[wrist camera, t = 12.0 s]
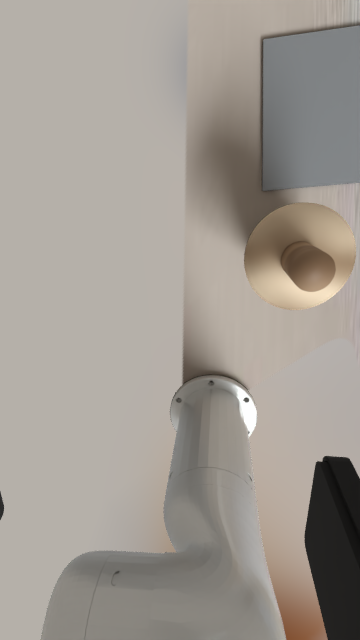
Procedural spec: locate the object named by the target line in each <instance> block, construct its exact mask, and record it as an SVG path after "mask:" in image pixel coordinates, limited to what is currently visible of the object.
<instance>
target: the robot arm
mask: <svg viewBox="0 0 360 640" xmlns="http://www.w3.org/2000/svg"><path fill="white" fill-rule="evenodd" d="M245 397H246V398H245ZM170 417H171V422H172V425H173V427H174V428H175V430H176V432H177V434H176V439H175V445H174V451H173V456H172V461H171V467H170V473H169V478H168V483H167V489H166V495H165V501H164V522H165V526H166V530H167V533H168V536H169V538H170V541H171V543H172V545H173V547H174V549H175V550H176V552H177V553H167V552H165V553H144V552H126V551H93V552H88V553H85V554H82V555H80V556H78V557H76V558H75V559H74V560H72V561H71V562H70V563H69V564H68V565H67V567H66V568H65V569H64V570H63V572H62V574H61V575H60V577H59V579H58V581H57V583H56V585H55V587H54V590H53V593H52V595H51V598H50V601H49V605H48V608H47V613H46V617H45V621H44V626H43V631H42V636H41V640H286V637H285V632H284V627H283V623H282V619H281V615H280V611H279V608H278V604H277V601H276V597H275V594H274V590H273V586H272V583H271V579H270V575H269V571H268V568H267V563H266V559H265V554H264V549H263V544H262V538H261V532H260V525H259V518H258V510H257V501H256V494H255V486H254V477H253V470H252V462H251V452H250V444H249V436H250V435H251V433H252V432H253V430H254V428H255V425H256V422H257V409H256V405H255V402H254V400H253V397H252V396H251V394H250V393H249V391H248V390H247V389H246V388H245V387H244V386H242V385H241V384H240V383H238V382H236V381H235V380H232V379H230V378H227V377H223V376H218V375H206V376H200V377H197V378H194V379H191V380H190V381H188V382H186V383H185V384H183V385H182V386H181V387H180V388H179V389H178V391H177V392H176V393H175V395H174V397H173V399H172V403H171V409H170ZM3 511H4V505H3V501H2V497H1V493H0V520H1V517H2V515H3ZM305 547H306V552H307V556H308V560H309V564H310V568H311V573H312V577H313V581H314V584H315V589H316V593H317V597H318V601H319V605H320V609H321V613H322V617H323V622H324V626H325V630H326V633H327V637H328V640H360V478H359V476H358V475H357V473H356V471H355V468H354V467H353V465H352V463H351V461H350V459H349V458H346V457H331V456H325V457H324V458H323V461H322V462H316V466H315V472H314V478H313V485H312V491H311V498H310V504H309V511H308V517H307V523H306V530H305Z"/></svg>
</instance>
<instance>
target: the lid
mask: <svg viewBox="0 0 360 640" xmlns="http://www.w3.org/2000/svg"><path fill="white" fill-rule="evenodd" d="M355 257H356V245H355V239H354V235H353V233H352V231H351V228H350V227H349V225H348V224H347V222H346V221H345V220H344V219H343V217H342V216H340V215H339V214H338V213H337V212H335V211H334V210H332V209H330V208H328V207H326V206H323V205H319V204H315V203H294V204H289V205H286V206H283V207H281V208H278V209H276V210H275V211H273V212H271V213H270V214H268V215H267V216H266V217H265V218H264V219H262V220H261V221H260V222H259V224H258V225H257V226H256V227H255V229H254V230H253V232H252V233H251V235H250V237H249V239H248V242H247V245H246V249H245V254H244V265H245V271H246V275H247V278H248V281H249V283H250V285H251V287H252V288H253V290H254V291H255V292H256V293H257V294H258V295H259V296H260V297H261V298H262V299H263V300H264V301H266V302H268V303H269V304H271V305H273V306H276V307H279V308H282V309H288V310H301V309H307V308H311V307H314V306H317V305H319V304H321V303H323V302H325V301H327V300H328V299H330V298H331V297H333V296H334V295H335V294H336V293H337V292H338V291H339V290H340V289H341V288H342V287H343V286H344V284H345V283H346V281H347V280H348V278H349V276H350V274H351V272H352V270H353V266H354V263H355Z"/></svg>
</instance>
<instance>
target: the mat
mask: <svg viewBox="0 0 360 640" xmlns="http://www.w3.org/2000/svg"><path fill="white" fill-rule="evenodd" d="M349 183H360V25H359V26H352V27H345V28H338V29H331V30H324V31H317V32H310V33H303V34H296V35H290V36H283V37H276V38H269V39H263V154H262V191H267V190H279V189H291V188H302V187H314V186H325V185H337V184H349Z"/></svg>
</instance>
